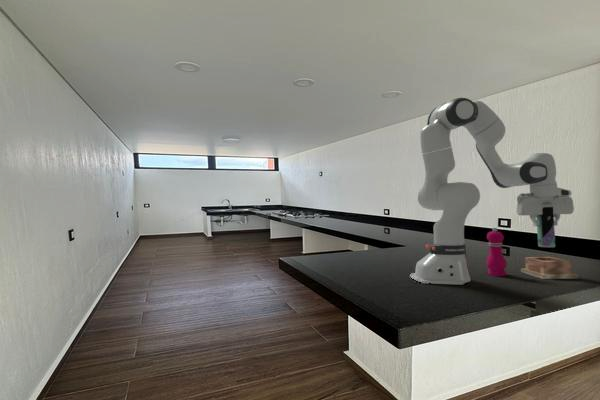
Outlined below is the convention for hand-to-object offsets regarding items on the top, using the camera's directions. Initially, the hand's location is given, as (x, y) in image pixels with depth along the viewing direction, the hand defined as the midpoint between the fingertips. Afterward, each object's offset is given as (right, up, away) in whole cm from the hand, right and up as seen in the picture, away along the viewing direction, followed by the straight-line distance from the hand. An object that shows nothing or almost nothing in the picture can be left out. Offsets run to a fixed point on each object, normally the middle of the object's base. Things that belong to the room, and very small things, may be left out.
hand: (545, 225), depth 122 cm
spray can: (0, -9, 0) cm, 9 cm away
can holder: (+1, -20, -1) cm, 20 cm away
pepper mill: (-18, -21, +3) cm, 28 cm away
